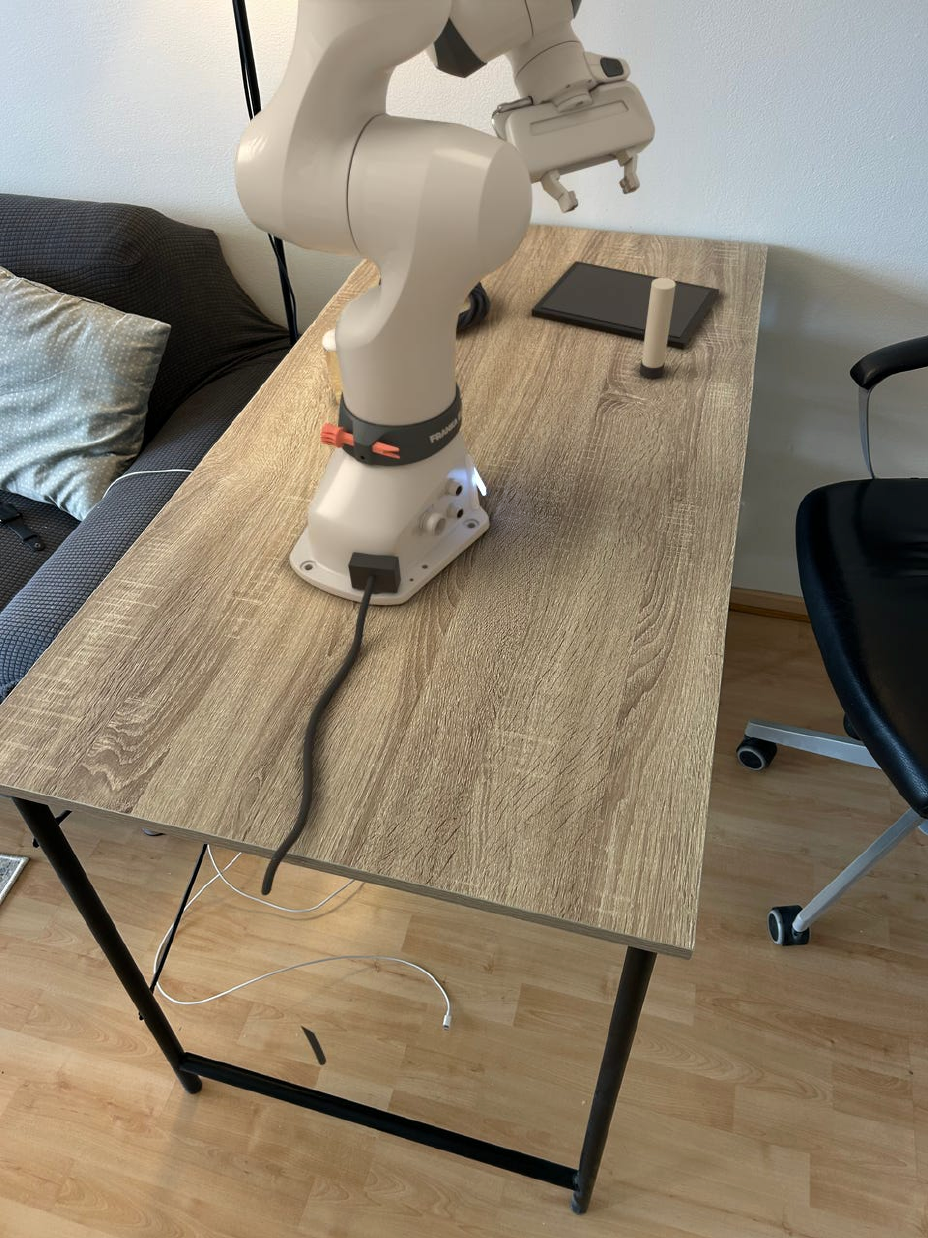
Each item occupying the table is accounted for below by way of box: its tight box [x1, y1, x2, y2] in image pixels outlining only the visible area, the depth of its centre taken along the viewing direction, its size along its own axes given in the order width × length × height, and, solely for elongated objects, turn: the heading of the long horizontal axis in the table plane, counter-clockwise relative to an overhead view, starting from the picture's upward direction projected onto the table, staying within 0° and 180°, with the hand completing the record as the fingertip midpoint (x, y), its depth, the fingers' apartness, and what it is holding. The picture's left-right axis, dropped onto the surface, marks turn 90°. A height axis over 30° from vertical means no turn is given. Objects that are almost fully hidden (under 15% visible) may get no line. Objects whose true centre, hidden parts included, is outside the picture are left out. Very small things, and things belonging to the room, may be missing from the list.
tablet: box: [531, 260, 720, 350], centre depth 126 cm, size 16×22×1 cm
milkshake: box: [321, 328, 343, 405], centre depth 109 cm, size 5×5×10 cm
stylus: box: [639, 277, 676, 380], centre depth 110 cm, size 3×3×12 cm
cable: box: [378, 277, 491, 332], centre depth 125 cm, size 17×14×4 cm
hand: (602, 199), depth 109 cm, fingers open, 8 cm apart
